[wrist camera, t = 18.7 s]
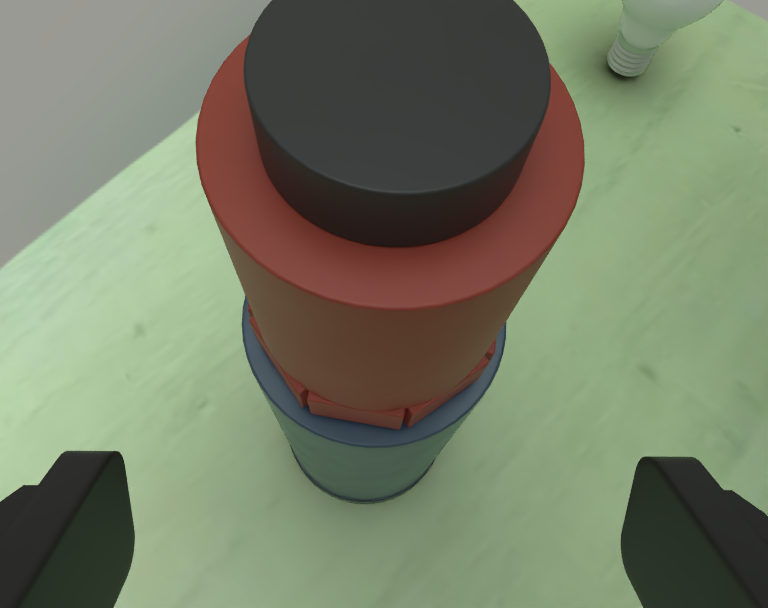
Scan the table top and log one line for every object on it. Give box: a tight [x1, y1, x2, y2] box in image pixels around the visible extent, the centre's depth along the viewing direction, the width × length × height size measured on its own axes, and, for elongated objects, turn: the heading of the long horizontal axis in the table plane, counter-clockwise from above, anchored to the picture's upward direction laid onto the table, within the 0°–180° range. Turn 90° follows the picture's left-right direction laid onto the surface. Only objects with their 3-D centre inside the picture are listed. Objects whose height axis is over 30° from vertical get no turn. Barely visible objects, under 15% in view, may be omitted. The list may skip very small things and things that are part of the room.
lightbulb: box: [607, 0, 724, 76], centre depth 37 cm, size 6×6×11 cm
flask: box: [242, 295, 506, 504], centre depth 24 cm, size 8×8×17 cm
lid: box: [196, 0, 584, 430], centre depth 13 cm, size 6×6×10 cm
